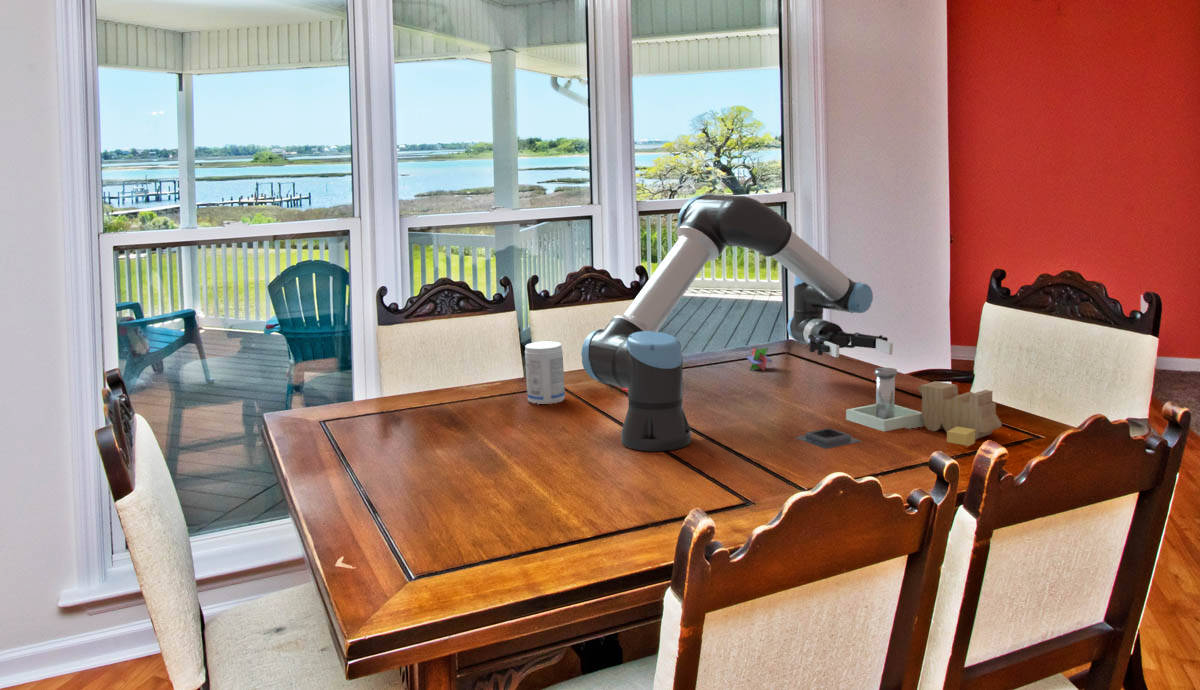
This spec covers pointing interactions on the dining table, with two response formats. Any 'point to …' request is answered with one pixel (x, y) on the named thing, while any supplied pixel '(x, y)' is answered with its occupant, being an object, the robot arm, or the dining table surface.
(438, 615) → the dining table surface
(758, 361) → the geometric puzzle
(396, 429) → the dining table surface
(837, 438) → the collar plate
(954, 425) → the toy train
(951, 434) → the tan rectangular block
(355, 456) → the dining table surface
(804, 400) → the dining table surface
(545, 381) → the supplement tub
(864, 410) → the tray
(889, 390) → the pin
